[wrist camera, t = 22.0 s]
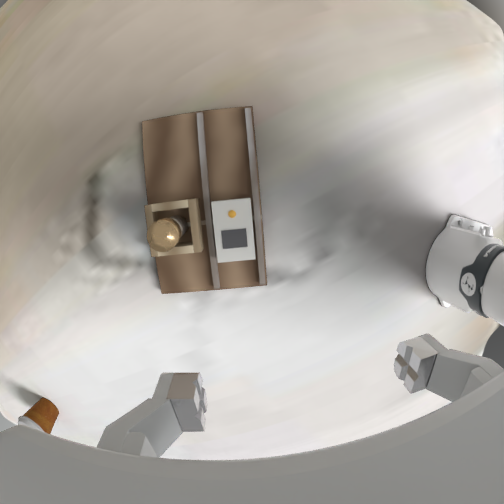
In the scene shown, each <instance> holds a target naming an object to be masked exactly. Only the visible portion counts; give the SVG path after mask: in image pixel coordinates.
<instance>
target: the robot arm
mask: <svg viewBox="0 0 504 504" xmlns="http://www.w3.org/2000/svg"><path fill="white" fill-rule="evenodd" d="M426 279H427V283H428V286H429V288H430V290H431V292H432V293H433V294H435V295H436V296H437V297H438V298H439V300H440V303H441V305H442V306H443V307H446V308H447V307H449V306H451V305H452V306H454V307H456V308H458V309H460V310H462V311H464V312H467V313H470V312H471V311H475V312H476V313H477V314H479V315H480V316H483V317H486V318H489V317H490V318H491V319H493V320H495V321H496V322H498V323H499V324H501V325H502V326H504V246H503V243H502V240H501V239H499V238H496V237H493V228H492V227H491V226H489V225H486V224H484V223H480V222H477V221H474V220H471V219H467V218H464V217H461V216H457V215H451V217H450V218H449V220H448V223H447V225H446V227H445V229H444V230H443V231H442V232H441V233H440V234H439V235H438V237H437V238H436V240H435V241H434V243H433V245H432V247H431V249H430V252H429V255H428V259H427V265H426ZM397 352H398V353H399V354H398V356H397V357H396V358H395V362H394V371H395V373H396V376H397V377H398V378H399V379H401V380H403V381H404V386H405V387H406V389H407V390H408V391H409V392H410V394H411V393H414V392H417V391H420V390H423V389H425V388H426V389H427V390H429V391H431V392H433V393H435V394H437V395H439V396H441V397H443V398H446V399H448V400H450V401H452V403H450V404H448V405H446V406H444V407H442V408H440V409H438V410H436V411H434V412H431V413H429V414H427V415H425V416H423V417H420V418H418V419H416V420H413V421H411V422H408V423H406V424H403V425H401V426H398V427H395V428H393V429H390V430H387V431H384V432H381V433H378V434H375V435H372V436H369V437H365V438H362V439H359V440H355V441H352V442H348V443H344V444H340V445H336V446H332V447H327V448H323V449H318V450H313V451H308V452H302V453H296V454H290V455H283V456H275V457H266V458H255V459H241V460H181V459H167V458H159V457H160V456H161V455H162V454H163V453H164V452H165V451H166V450H167V449H168V448H169V447H170V446H171V445H172V444H173V442H174V441H175V440H176V439H177V438H178V437H179V436H180V435H181V434H182V432H197V431H204V428H205V420H206V419H205V415H204V413H205V412H206V411H207V398H206V392H205V389H204V388H203V387H202V382H203V380H202V377H201V374H200V373H162V374H161V375H160V378H159V381H158V384H157V386H156V389H155V392H154V394H153V397H152V399H147V400H146V401H144V402H143V403H141V404H140V405H138V406H137V407H135V408H134V409H132V410H131V411H129V412H128V413H126V414H125V415H123V416H122V417H120V418H119V419H117V420H116V421H114V422H113V423H111V424H110V425H108V426H107V427H106V428H105V430H104V432H103V435H102V437H101V439H100V441H99V443H98V445H97V448H96V447H92V446H88V445H84V444H80V443H77V442H73V441H70V440H66V439H63V438H60V437H57V436H54V435H51V434H48V433H45V432H42V431H40V430H37V429H35V428H32V427H30V426H27V425H22V424H19V425H16V426H14V427H11V428H9V429H7V430H4V431H2V432H0V504H504V369H503V368H502V367H500V366H499V365H498V364H497V363H496V362H494V361H493V360H492V359H489V358H485V357H481V356H477V355H473V354H469V353H465V352H461V351H457V350H453V349H449V350H448V349H447V348H445V347H444V346H443V345H442V344H441V343H440V342H438V341H437V340H436V339H435V338H434V337H432V336H431V335H430V334H424V335H421V336H418V337H416V338H413V339H409V340H406V341H403V342H400V343H399V344H398V347H397Z"/></svg>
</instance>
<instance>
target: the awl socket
mask: <svg viewBox="0 0 504 504" xmlns="http://www.w3.org/2000/svg"><path fill="white" fill-rule="evenodd" d="M144 207H145V215H146V223H147V231H148V228H149V227H150V225H151V224H152V223H154V222H156V221H158V220H160V219H159V211H163V210H171V209H179V208H187V207H188V208H189V217H190V226H191V234H192V242H183V243H177V244H176V245H175V246H174V247H173V248H172V249H171V250H169V251H167V252H158V251H156V250H154V249H153V248H152V247H151V246H150V251H151V257H157V256H167V255H177V254H187V253H198V252H202V250H203V248H204V243H203V234H202V226H201V216H200V207H199V198H195V199H186V200H179V201H171V202H164V203H156V204H150V205H145V206H144Z"/></svg>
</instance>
